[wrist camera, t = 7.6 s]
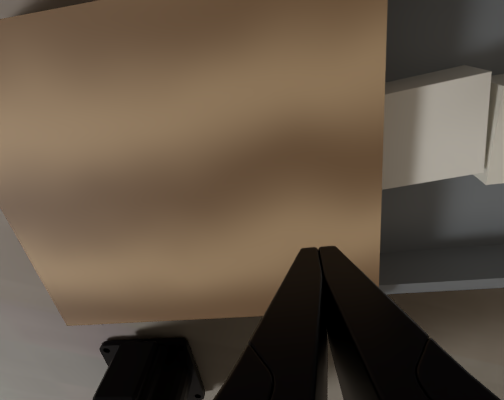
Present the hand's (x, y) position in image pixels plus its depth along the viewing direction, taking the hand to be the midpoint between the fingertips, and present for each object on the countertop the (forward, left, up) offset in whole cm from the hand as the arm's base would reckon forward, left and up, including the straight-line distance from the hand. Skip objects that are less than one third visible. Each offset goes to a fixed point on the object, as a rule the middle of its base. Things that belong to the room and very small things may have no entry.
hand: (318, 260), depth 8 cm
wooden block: (0, +5, -9) cm, 10 cm away
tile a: (0, -5, -9) cm, 10 cm away
